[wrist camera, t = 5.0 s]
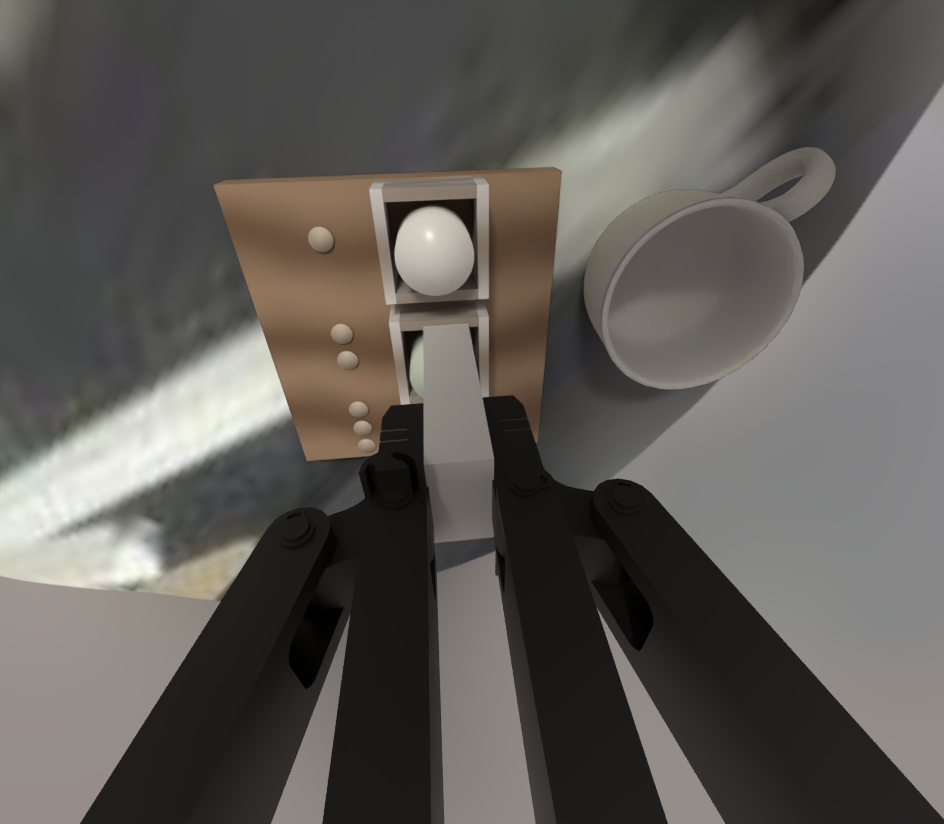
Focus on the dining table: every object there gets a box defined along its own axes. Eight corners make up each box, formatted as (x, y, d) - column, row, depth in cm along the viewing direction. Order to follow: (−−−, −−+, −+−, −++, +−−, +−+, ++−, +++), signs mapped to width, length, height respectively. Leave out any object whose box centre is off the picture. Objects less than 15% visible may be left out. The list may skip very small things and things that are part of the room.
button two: (407, 326, 27) (406, 348, 24) (471, 322, 27) (475, 344, 25) (414, 380, 29) (413, 405, 27) (472, 376, 29) (477, 401, 27)
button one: (392, 204, 23) (389, 216, 20) (468, 200, 23) (473, 212, 20) (401, 279, 25) (399, 298, 23) (469, 275, 25) (474, 293, 23)
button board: (225, 179, 24) (187, 195, 20) (553, 166, 26) (578, 179, 22) (311, 446, 36) (298, 489, 32) (533, 429, 37) (546, 468, 33)
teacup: (618, 360, 34) (664, 420, 28) (534, 264, 29) (566, 311, 22) (789, 229, 29) (894, 265, 23) (725, 84, 24) (836, 78, 18)
